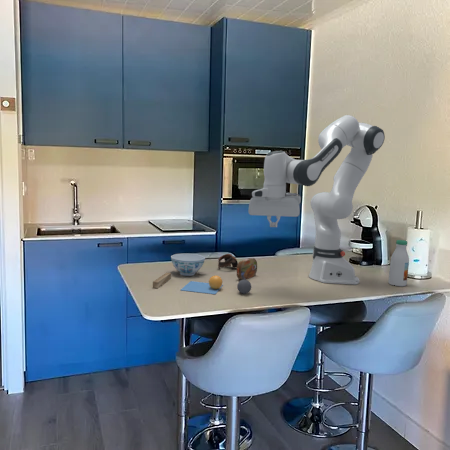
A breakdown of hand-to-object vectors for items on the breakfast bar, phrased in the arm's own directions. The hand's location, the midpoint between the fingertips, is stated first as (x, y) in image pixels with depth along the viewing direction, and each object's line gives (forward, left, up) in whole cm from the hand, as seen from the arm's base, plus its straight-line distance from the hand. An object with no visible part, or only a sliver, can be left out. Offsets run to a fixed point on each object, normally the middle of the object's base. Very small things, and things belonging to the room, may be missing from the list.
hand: (273, 227), depth 182 cm
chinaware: (+38, -10, -26) cm, 47 cm away
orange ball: (+21, +9, -23) cm, 32 cm away
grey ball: (+9, +10, -23) cm, 27 cm away
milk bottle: (-54, -30, -26) cm, 67 cm away
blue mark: (+26, +9, -26) cm, 37 cm away
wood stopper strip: (+43, +9, -26) cm, 51 cm away
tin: (+12, -14, -26) cm, 32 cm away
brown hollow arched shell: (+23, -28, -26) cm, 44 cm away
